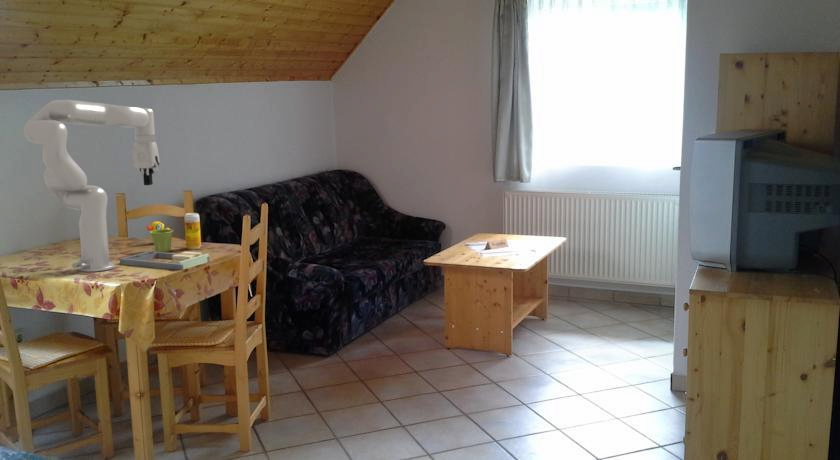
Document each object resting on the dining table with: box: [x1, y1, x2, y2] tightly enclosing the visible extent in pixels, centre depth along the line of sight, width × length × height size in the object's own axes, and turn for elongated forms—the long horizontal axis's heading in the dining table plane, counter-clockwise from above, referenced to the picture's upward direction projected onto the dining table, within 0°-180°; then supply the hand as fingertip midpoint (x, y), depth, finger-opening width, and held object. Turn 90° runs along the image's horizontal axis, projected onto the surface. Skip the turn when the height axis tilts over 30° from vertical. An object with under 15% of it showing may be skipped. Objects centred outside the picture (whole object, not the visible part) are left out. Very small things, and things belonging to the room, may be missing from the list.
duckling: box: [146, 220, 170, 242], centre depth 340 cm, size 11×5×10 cm, turn 140°
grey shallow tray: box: [119, 250, 210, 271], centre depth 300 cm, size 16×30×3 cm, turn 67°
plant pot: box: [149, 228, 174, 253], centre depth 322 cm, size 9×9×9 cm
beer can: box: [184, 212, 202, 250], centre depth 328 cm, size 6×6×15 cm
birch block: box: [171, 251, 203, 264], centre depth 298 cm, size 8×8×4 cm
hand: (148, 184), depth 310 cm, fingers closed
